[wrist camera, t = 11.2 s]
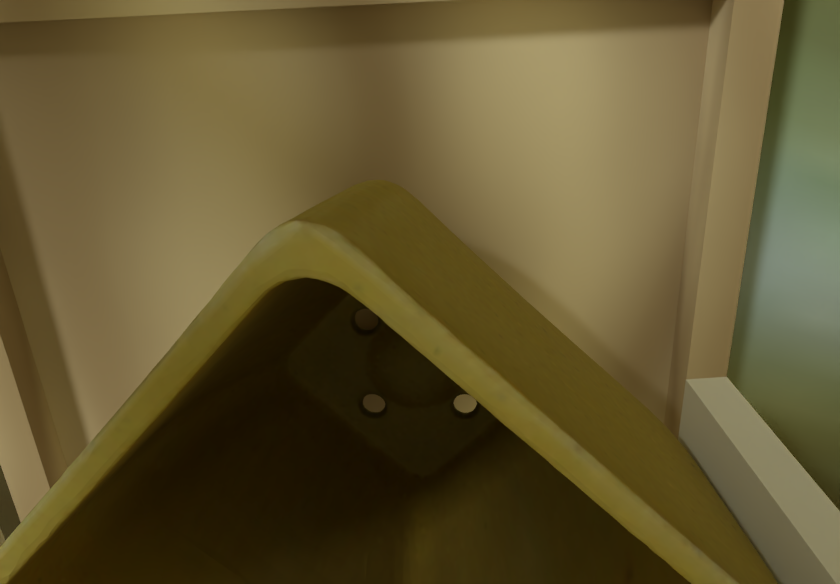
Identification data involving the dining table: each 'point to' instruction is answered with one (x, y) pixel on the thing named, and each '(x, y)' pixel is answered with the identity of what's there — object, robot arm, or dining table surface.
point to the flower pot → (378, 437)
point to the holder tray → (366, 174)
